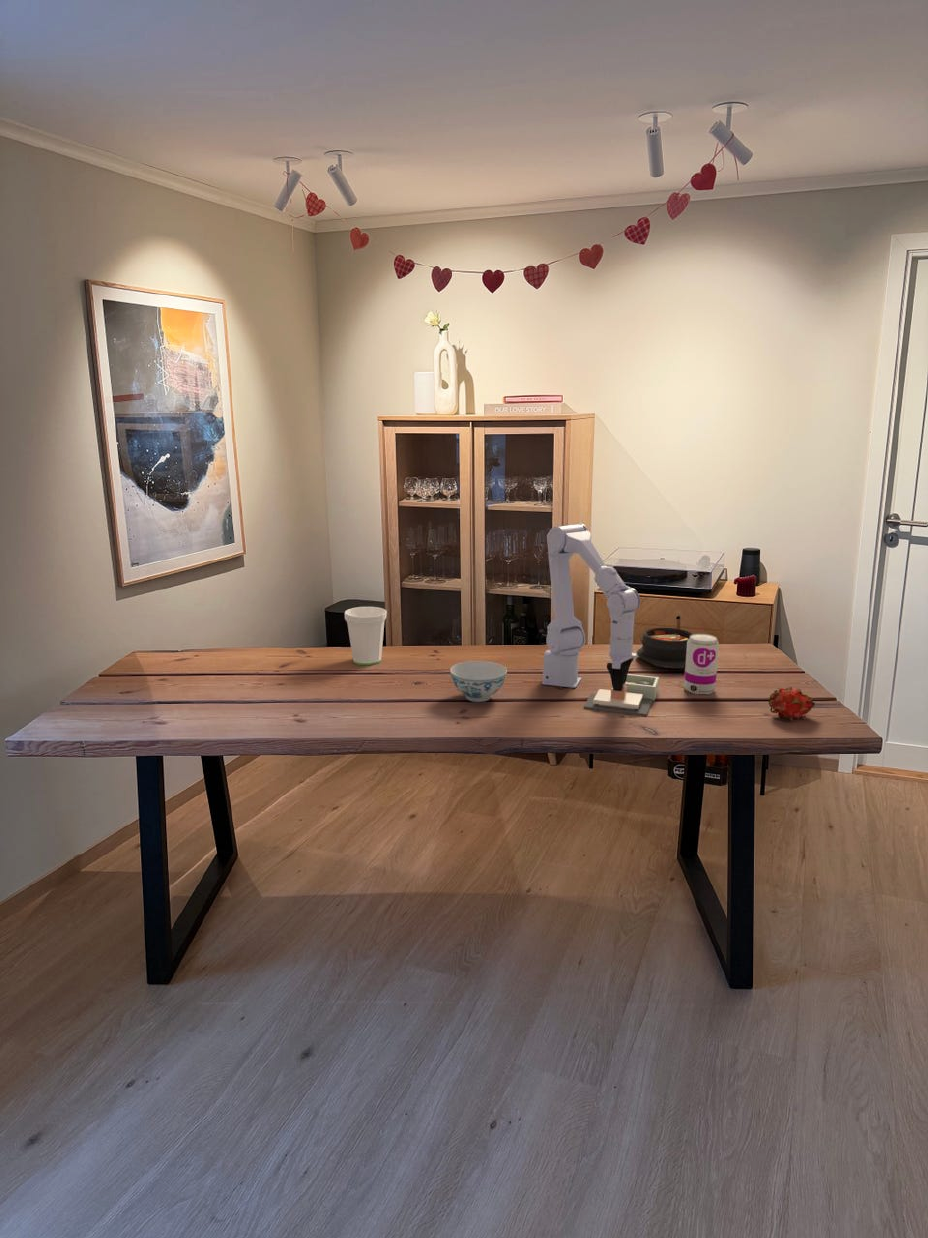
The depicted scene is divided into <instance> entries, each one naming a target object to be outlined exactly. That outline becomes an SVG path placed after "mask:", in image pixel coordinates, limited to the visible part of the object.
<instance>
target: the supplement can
mask: <svg viewBox="0 0 928 1238" xmlns="http://www.w3.org/2000/svg"><path fill="white" fill-rule="evenodd" d="M719 649H720V643H719V640H718V638H717V636H714V635H711V634H707V633H693V635H691V636H690V638H689V640H688V641H687V652H686V665H685V668H684V682H683V688H684V689H685V690H686V691H687V690H688V691H689V692H688V691H687V692H688V693H690V692H692V693H691V694H693V693H696V694H695V695H698V694H707V695H711V694H712V693H713V692H715V691H716V683H717V674H718V673H717V672H718V662H719V661H718V660H719Z"/></svg>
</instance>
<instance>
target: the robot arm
mask: <svg viewBox="0 0 928 1238" xmlns="http://www.w3.org/2000/svg"><path fill="white" fill-rule="evenodd" d="M546 542H547V544H546V545H547V551H548V554H547V555H548V565H549V574H550V575H549V576H550V582H551V583H550V585H551V595H552V604H553V614H554V619H552V620H551V622H550V623H549V624H548V625H547V626H546V629H547V633H546V634H547V635H546V646H547V648H548V649H546V650H545V652H544V654H543V663H542V682H541V684H542V685H544V686H545V685H547V686H555V687H563V688H564V687H565V688H572V689H573V688H574V689H575V688H577V687H578V685H579V684H580V682H581V680H582V677H581V676H580V677H579V675H578V674H579V653H580V652H582V651H581V650H582V648H583V647H584V646H585V644H586V633H585V631H584V629H583V623H582V621H581V620H579V619H578V618H577V617H575V610H574V608H575V607H574V600H573V599H574V598H573V589H572V578H571V570H570V569H571V568H570V560H571V558H572V556H573V555H574V554H578V555H579V556H580V558H581V559H582V560H583V561H584V562H585V564H586V565H587V566H588V567H589V568H590V570H591V571H592V572H593V573H594V582H595V583H596V585H597V586H598V587H599V589H600V590H601V592H602V593H603V595H604V596H605V597H606V599H607V600H606V606H607V609H608V611H609V618H610V637H609V651H608V657H609V659H610V660H611V662H606V670H607V671H608V674H609V676H610V680H611V688H613V690H614V691H621V690H622V688H623V684H625V682H626V679H627V674H629V669H630V668H631V667H630V666H631V664H632V662H633V661H634V659H636V658H637V657H638V655H637V652H633V651H634V649H633V647H634V646H633V645H634V633H635V631H634V629H635V615H636V614H635V611H637V610H638V609H639V607H640V606H641V597H640V594H639V593H638V591H637V590H636V589H635V588H632V587H630V586H629V585H626V583H625V582H624V580H623V579H622V578H621V576H620V575H619V573H618V572H617V570H616V568H614V567H612V566H607V565H606V564H605V562H604V559H603V558H602V557H601V555H600V554H599V552H598V550H597V548H596V547H595V545H594V544H593V542H592V533H591V532H590V531H589V529H588V527H587V526H586V525H585V524H584V523H577V524H567V525H562V526H557V525H556V526H552V528H550V530H549V532H548V533H547V534H546Z"/></svg>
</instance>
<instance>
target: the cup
mask: <svg viewBox="0 0 928 1238" xmlns="http://www.w3.org/2000/svg"><path fill="white" fill-rule="evenodd" d="M387 614H388V613H387V609H384V607H383V608H382V607H378V606H358V607H352V608H349V609H346V610H345V611H344V620H345V621H346V623H347V629H348V637H349V643H350V649H351V656H352V663H354V664H356V665H359V666H373V665H377V664H379V663H381V662H382V654H383V652H382V651H383V641H384V632H385V631H384V628H385V621H386V619H387Z"/></svg>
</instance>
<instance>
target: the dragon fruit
mask: <svg viewBox="0 0 928 1238" xmlns="http://www.w3.org/2000/svg"><path fill="white" fill-rule="evenodd" d="M815 703H816V702H814V699H813V698H812V697H811V696H809V695H808V694H805V693H802V689H801V688H797V689H793V687H792V686H790V687H787V688H783V687H778V688H777V689H776V690H774V692H773V693H771V694H770V695H769V700H768V705H769V707H770V709H769V710H770V712H771V713H772V714H778V717H779V718H782V717H783V718H784V717H785V718H786V719H788V720H789V721H792V720H793V719H799V720H802V719H805V718H806V717H807V715H806V714H808V713H809V712H810V711H812V709H813V708H814V707H815Z"/></svg>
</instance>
